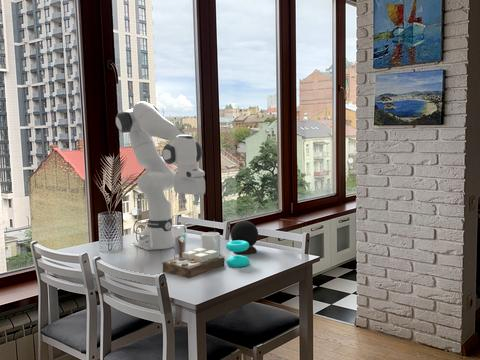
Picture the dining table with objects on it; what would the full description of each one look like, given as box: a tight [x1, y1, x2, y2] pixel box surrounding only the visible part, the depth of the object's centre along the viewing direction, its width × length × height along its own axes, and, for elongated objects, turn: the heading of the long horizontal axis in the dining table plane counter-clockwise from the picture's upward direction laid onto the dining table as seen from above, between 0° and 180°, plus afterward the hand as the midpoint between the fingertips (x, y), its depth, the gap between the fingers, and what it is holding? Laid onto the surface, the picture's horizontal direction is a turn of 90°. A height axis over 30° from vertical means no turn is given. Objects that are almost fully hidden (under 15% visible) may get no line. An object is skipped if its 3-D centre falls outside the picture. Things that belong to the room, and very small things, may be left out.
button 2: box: [194, 253, 209, 263], centre depth 212 cm, size 4×4×4 cm
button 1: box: [182, 250, 197, 260], centre depth 217 cm, size 4×4×4 cm
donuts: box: [225, 240, 250, 268], centre depth 218 cm, size 10×10×10 cm
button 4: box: [204, 250, 218, 259], centre depth 217 cm, size 4×4×4 cm
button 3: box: [191, 247, 206, 254], centre depth 221 cm, size 4×4×4 cm
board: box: [161, 255, 226, 279], centre depth 214 cm, size 16×21×4 cm
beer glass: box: [172, 224, 188, 259], centre depth 231 cm, size 7×7×15 cm
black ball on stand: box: [230, 220, 259, 256], centre depth 240 cm, size 13×13×15 cm
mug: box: [201, 231, 221, 256], centre depth 233 cm, size 12×8×10 cm
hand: (190, 204), depth 217 cm, fingers open, 8 cm apart
